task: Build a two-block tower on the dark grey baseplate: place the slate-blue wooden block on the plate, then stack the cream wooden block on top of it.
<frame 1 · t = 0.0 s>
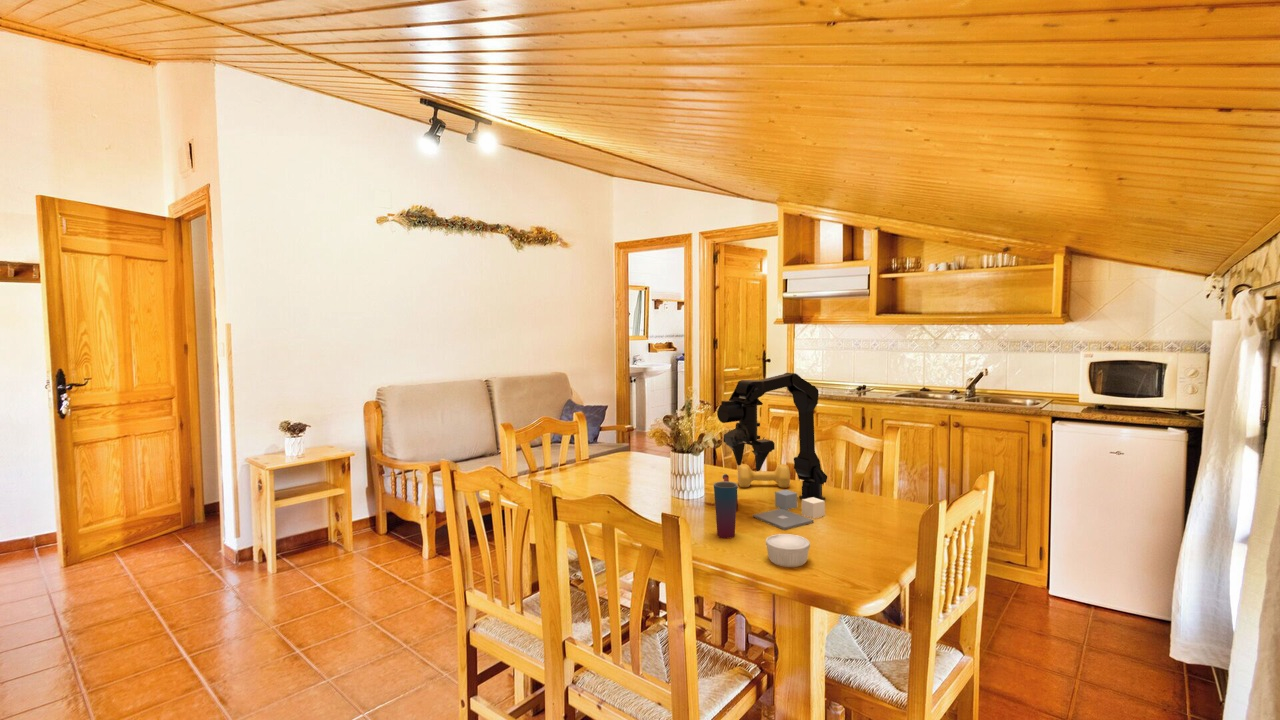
hand: (748, 468, 196), 15 cm above the table, tool pointing down, fingers open, 9 cm apart
ramekin: (787, 561, 158), on the table
slate block: (786, 507, 202), on the table
dumbbell: (763, 487, 227), on the table
cream block: (813, 515, 193), on the table
baseplate: (782, 519, 189), on the table
toy fire truck: (727, 507, 204), on the table
cup: (726, 536, 177), on the table
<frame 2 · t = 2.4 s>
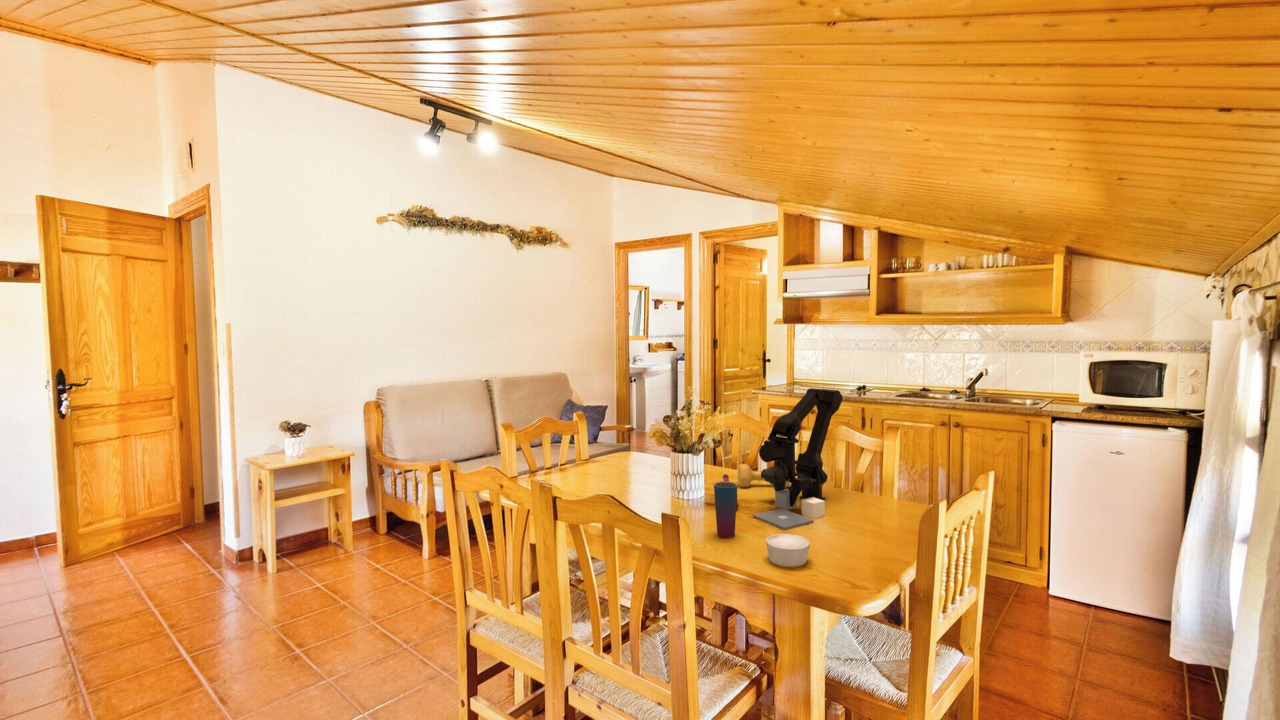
hand: (786, 503, 202), 1 cm above the table, tool pointing down, fingers closed on slate block, 5 cm apart
slate block: (786, 507, 202), on the table, touching gripper
everything else where it was.
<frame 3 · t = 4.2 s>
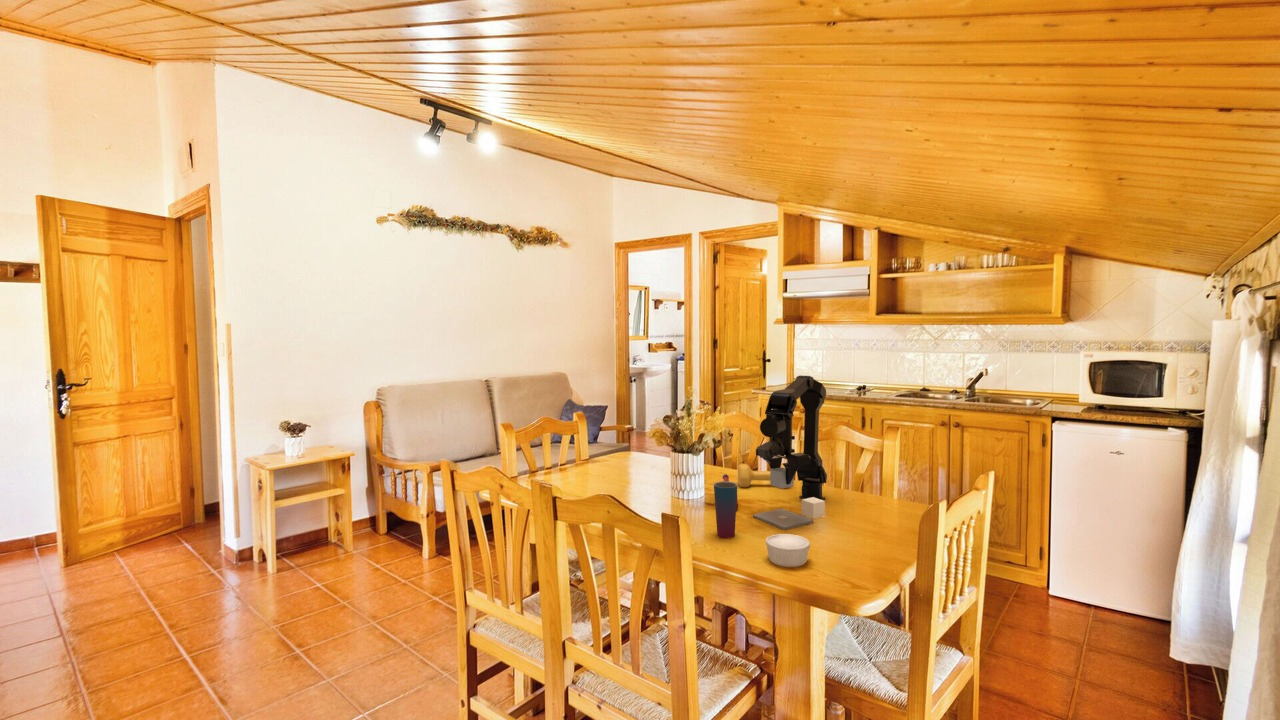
hand: (782, 482, 189), 12 cm above the table, tool pointing down, fingers closed on slate block, 5 cm apart
slate block: (781, 485, 190), point 11 cm above the table, touching gripper
everything else where it was.
when the fingers open (3 cm above the table, at t = 6.2 s): slate block drops 1 cm, resting on baseplate.
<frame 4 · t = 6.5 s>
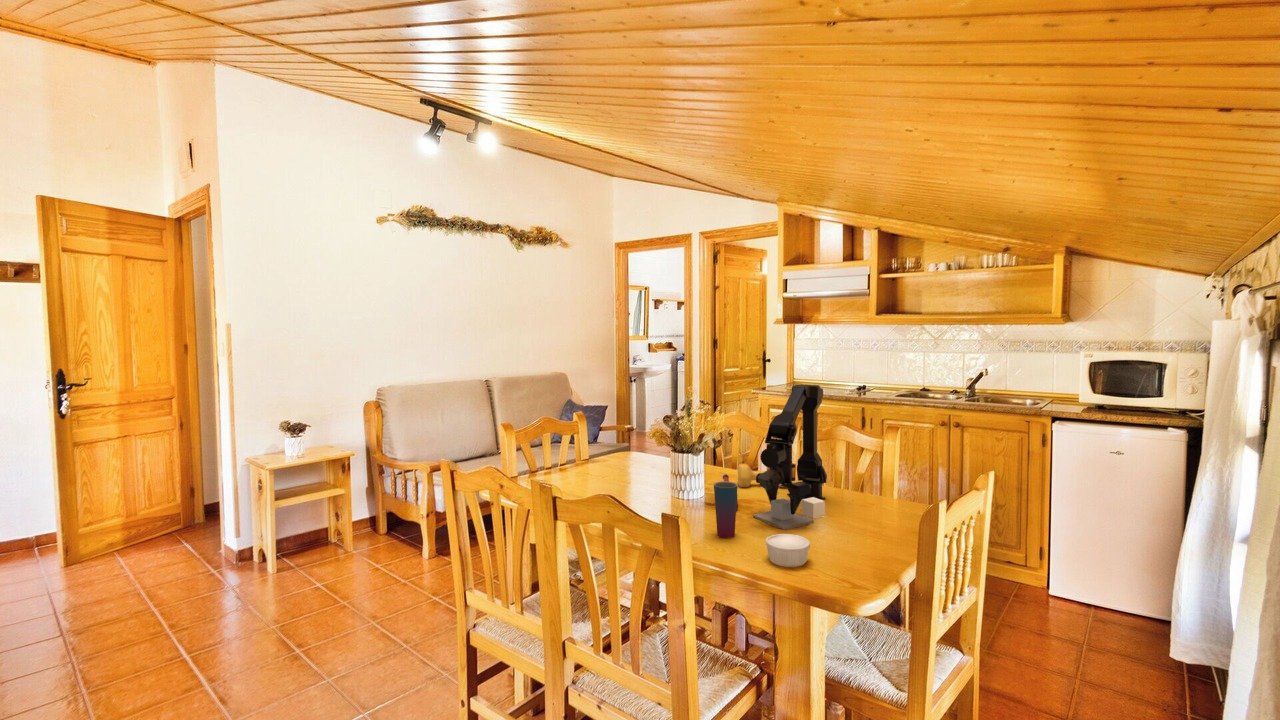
hand: (782, 510, 189), 3 cm above the table, tool pointing down, fingers open, 8 cm apart
slate block: (782, 517, 189), point 1 cm above the table, touching baseplate
everything else where it was.
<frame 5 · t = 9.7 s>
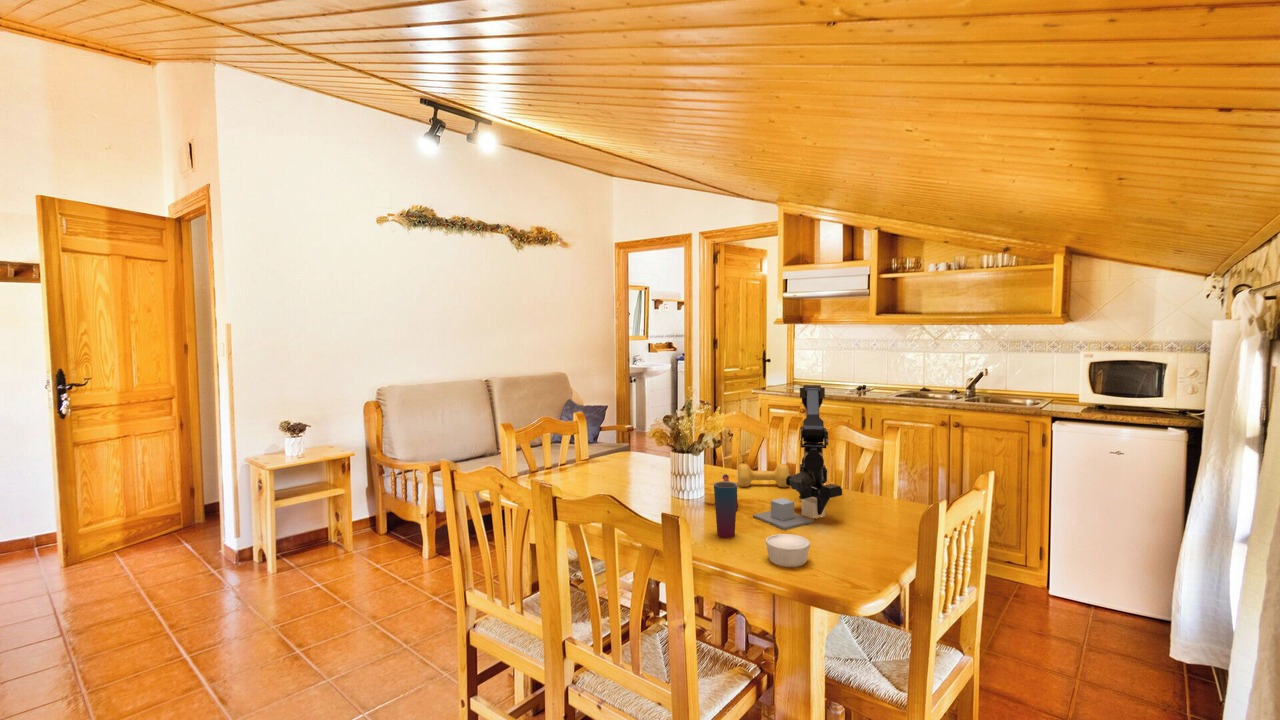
hand: (813, 512, 193), 1 cm above the table, tool pointing down, fingers closed on cream block, 5 cm apart
cream block: (813, 515, 193), on the table, touching gripper
everything else where it was.
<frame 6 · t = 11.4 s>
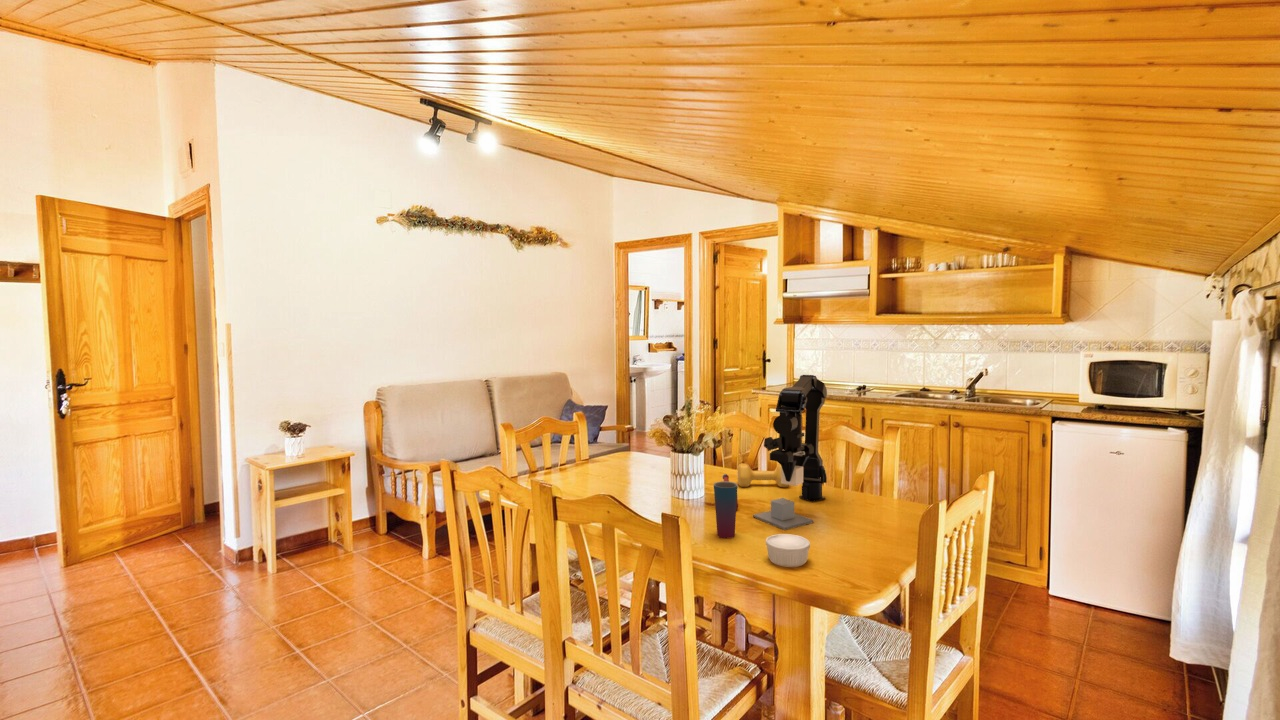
hand: (792, 479, 189), 12 cm above the table, tool pointing down, fingers closed on cream block, 5 cm apart
cream block: (792, 483, 189), point 11 cm above the table, touching gripper
everything else where it was.
when the fingers open (8 cm above the table, at t = 12.9 s): cream block drops 1 cm, resting on slate block.
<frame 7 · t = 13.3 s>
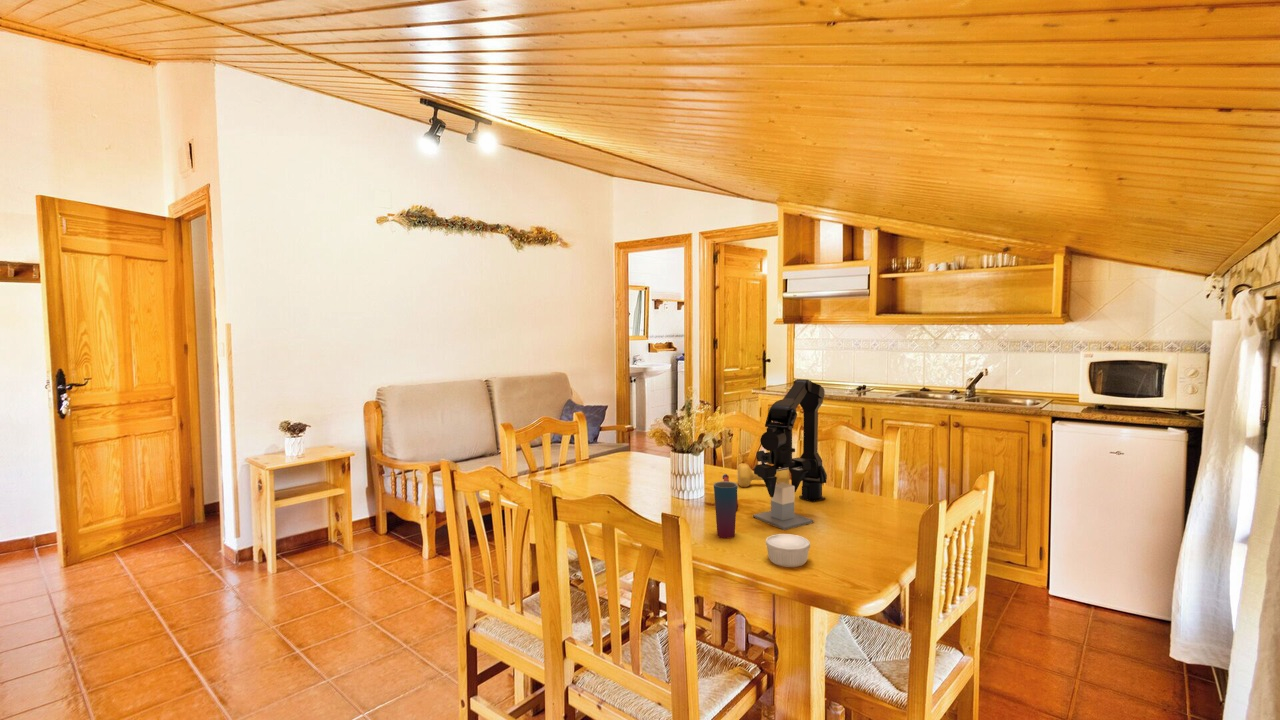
hand: (782, 494, 189), 8 cm above the table, tool pointing down, fingers open, 9 cm apart
slate block: (782, 517, 189), point 1 cm above the table, touching baseplate, cream block
cream block: (782, 501, 189), point 6 cm above the table, touching slate block
everything else where it was.
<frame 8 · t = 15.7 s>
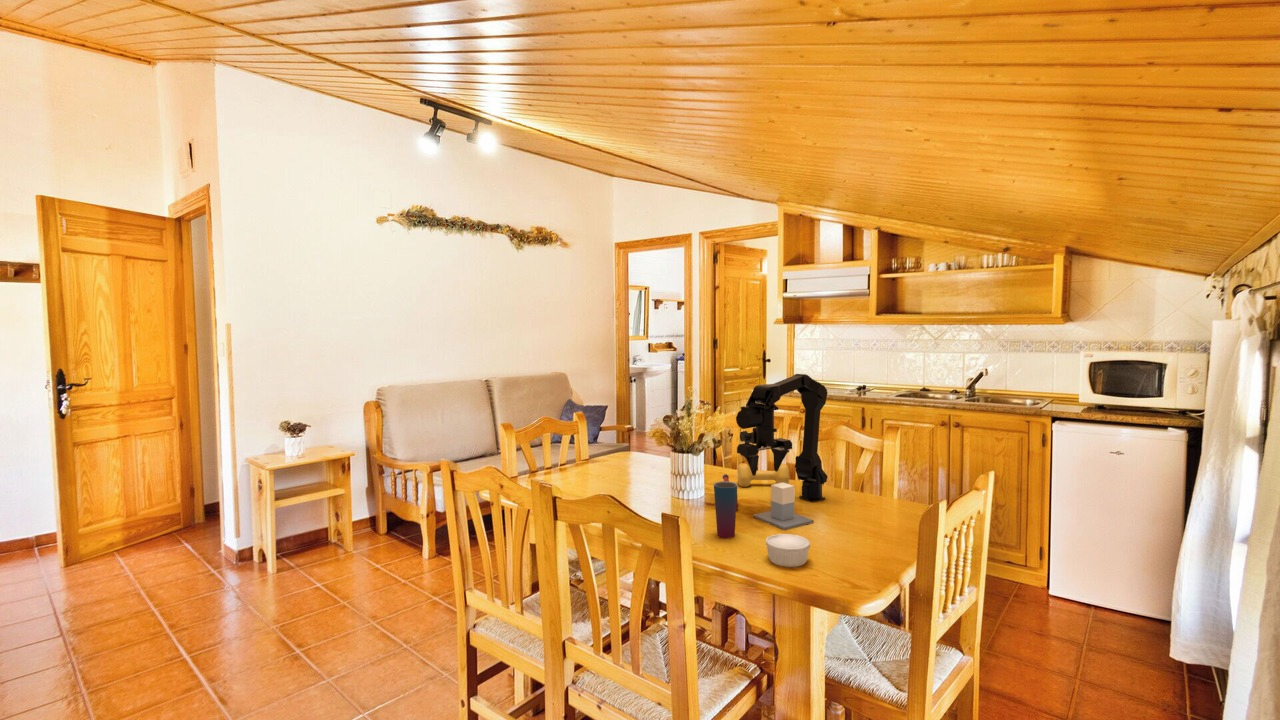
hand: (765, 473, 195), 13 cm above the table, tool pointing down, fingers open, 9 cm apart
nothing on the table moved.
at the end: slate block inside the target area on the baseplate (0.0 cm from its centre), point 0.9 cm above the baseplate's base; cream block 0.1 cm from the slate block (horizontally); cream block 0.1 cm off-centre on the slate block, point 5.0 cm above the slate block's base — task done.
